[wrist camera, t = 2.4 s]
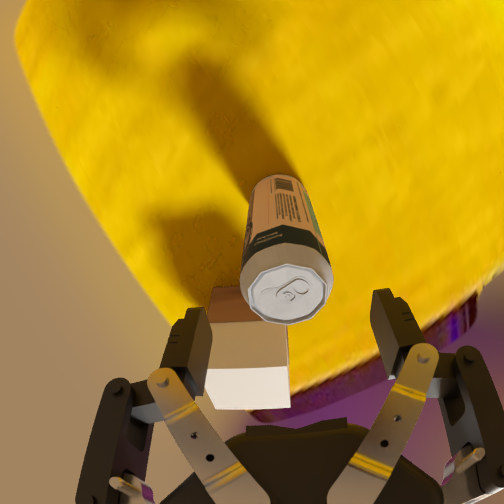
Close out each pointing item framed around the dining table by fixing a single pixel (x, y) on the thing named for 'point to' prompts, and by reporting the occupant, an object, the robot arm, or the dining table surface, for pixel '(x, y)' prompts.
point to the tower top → (248, 366)
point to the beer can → (284, 254)
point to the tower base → (231, 307)
